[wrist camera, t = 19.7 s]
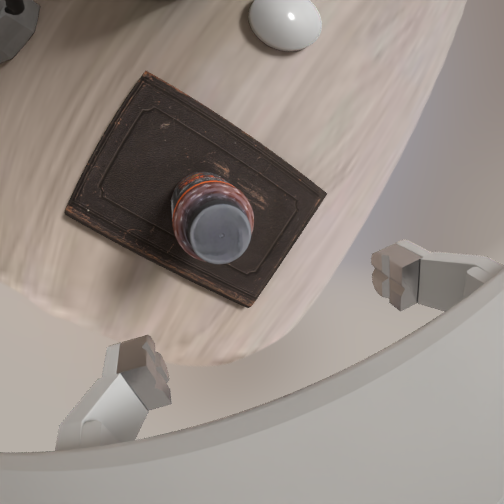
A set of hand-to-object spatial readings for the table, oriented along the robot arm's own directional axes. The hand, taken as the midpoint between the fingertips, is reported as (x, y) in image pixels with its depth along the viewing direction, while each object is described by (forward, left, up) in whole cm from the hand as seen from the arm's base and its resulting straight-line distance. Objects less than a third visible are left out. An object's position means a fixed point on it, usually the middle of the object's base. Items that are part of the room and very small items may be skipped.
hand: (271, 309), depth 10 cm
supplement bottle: (0, 0, -21) cm, 21 cm away
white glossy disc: (-14, -17, -22) cm, 31 cm away
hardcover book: (0, 0, -24) cm, 24 cm away
